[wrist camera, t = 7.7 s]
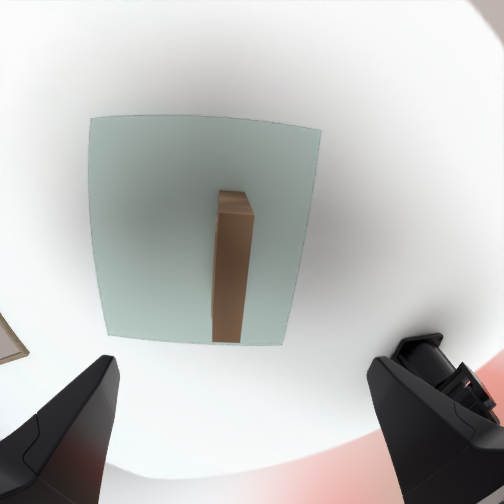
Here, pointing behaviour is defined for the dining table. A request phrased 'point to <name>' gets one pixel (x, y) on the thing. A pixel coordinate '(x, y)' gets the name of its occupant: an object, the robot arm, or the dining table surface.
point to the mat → (195, 220)
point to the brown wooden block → (230, 265)
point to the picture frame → (10, 344)
